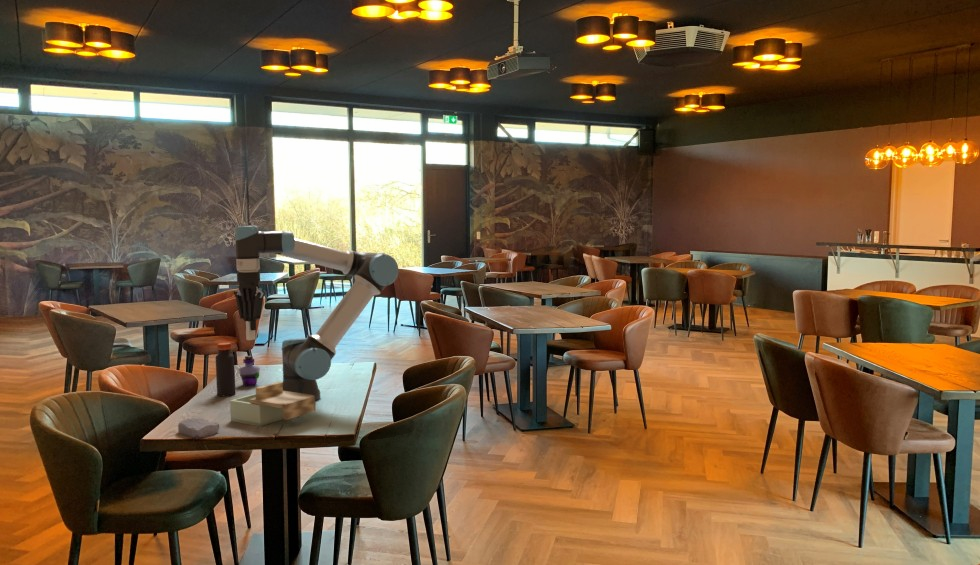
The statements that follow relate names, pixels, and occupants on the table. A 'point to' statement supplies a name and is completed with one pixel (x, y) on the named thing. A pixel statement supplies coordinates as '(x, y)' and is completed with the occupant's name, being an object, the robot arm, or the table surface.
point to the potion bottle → (249, 372)
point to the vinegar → (225, 370)
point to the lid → (284, 400)
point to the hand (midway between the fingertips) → (250, 339)
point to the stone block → (197, 427)
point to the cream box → (254, 412)
